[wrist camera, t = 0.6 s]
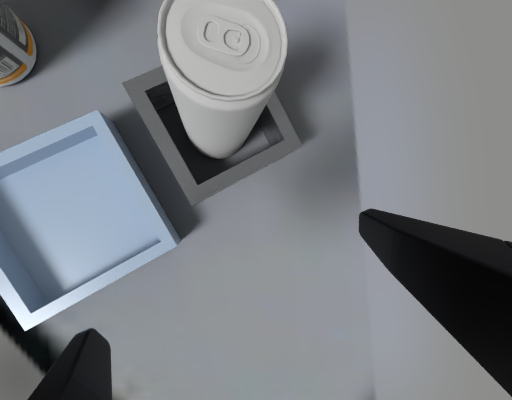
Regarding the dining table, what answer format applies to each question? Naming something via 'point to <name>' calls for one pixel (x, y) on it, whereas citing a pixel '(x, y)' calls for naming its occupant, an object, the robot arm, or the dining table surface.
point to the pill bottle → (14, 47)
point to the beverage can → (221, 66)
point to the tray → (74, 217)
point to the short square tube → (147, 102)
